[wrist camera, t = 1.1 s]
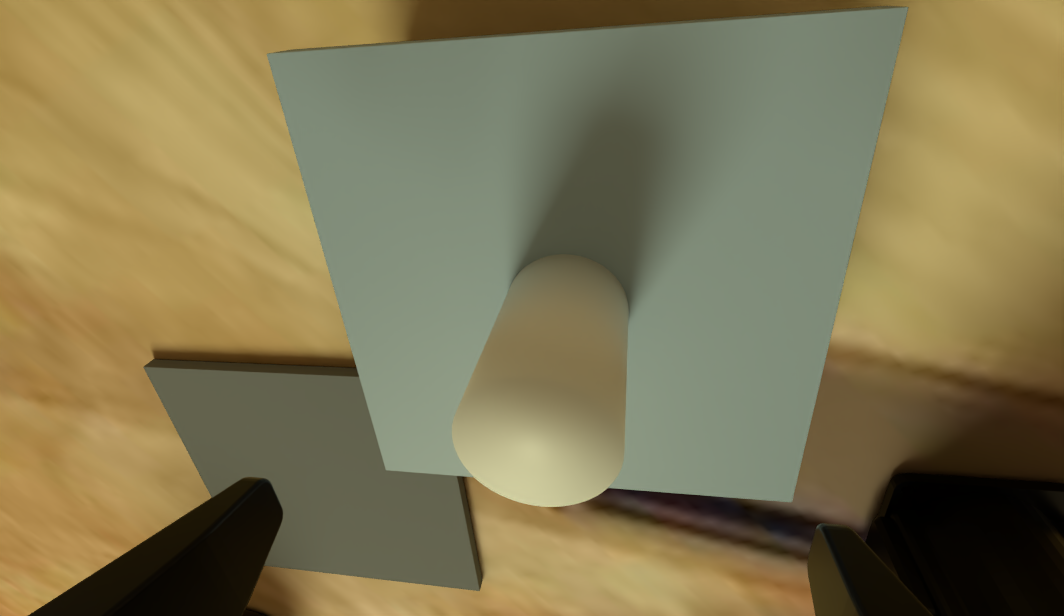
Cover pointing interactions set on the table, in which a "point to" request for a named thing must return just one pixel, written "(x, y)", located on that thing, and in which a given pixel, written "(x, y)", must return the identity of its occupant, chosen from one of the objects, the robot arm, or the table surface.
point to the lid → (594, 242)
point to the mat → (320, 471)
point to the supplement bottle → (251, 613)
